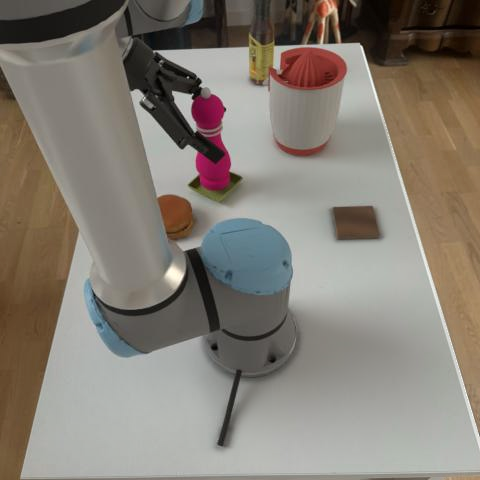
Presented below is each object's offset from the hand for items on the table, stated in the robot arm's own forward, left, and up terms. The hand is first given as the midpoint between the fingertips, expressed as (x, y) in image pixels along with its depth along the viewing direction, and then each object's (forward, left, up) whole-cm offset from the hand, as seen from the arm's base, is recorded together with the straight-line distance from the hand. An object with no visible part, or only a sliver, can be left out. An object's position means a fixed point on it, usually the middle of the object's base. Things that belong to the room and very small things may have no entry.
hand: (221, 135), depth 84 cm
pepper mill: (0, +2, -11) cm, 11 cm away
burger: (-12, +8, -13) cm, 20 cm away
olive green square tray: (0, +2, -13) cm, 13 cm away
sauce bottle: (+43, +2, -13) cm, 45 cm away
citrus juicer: (+20, -12, -13) cm, 26 cm away
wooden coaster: (-4, -28, -13) cm, 31 cm away
